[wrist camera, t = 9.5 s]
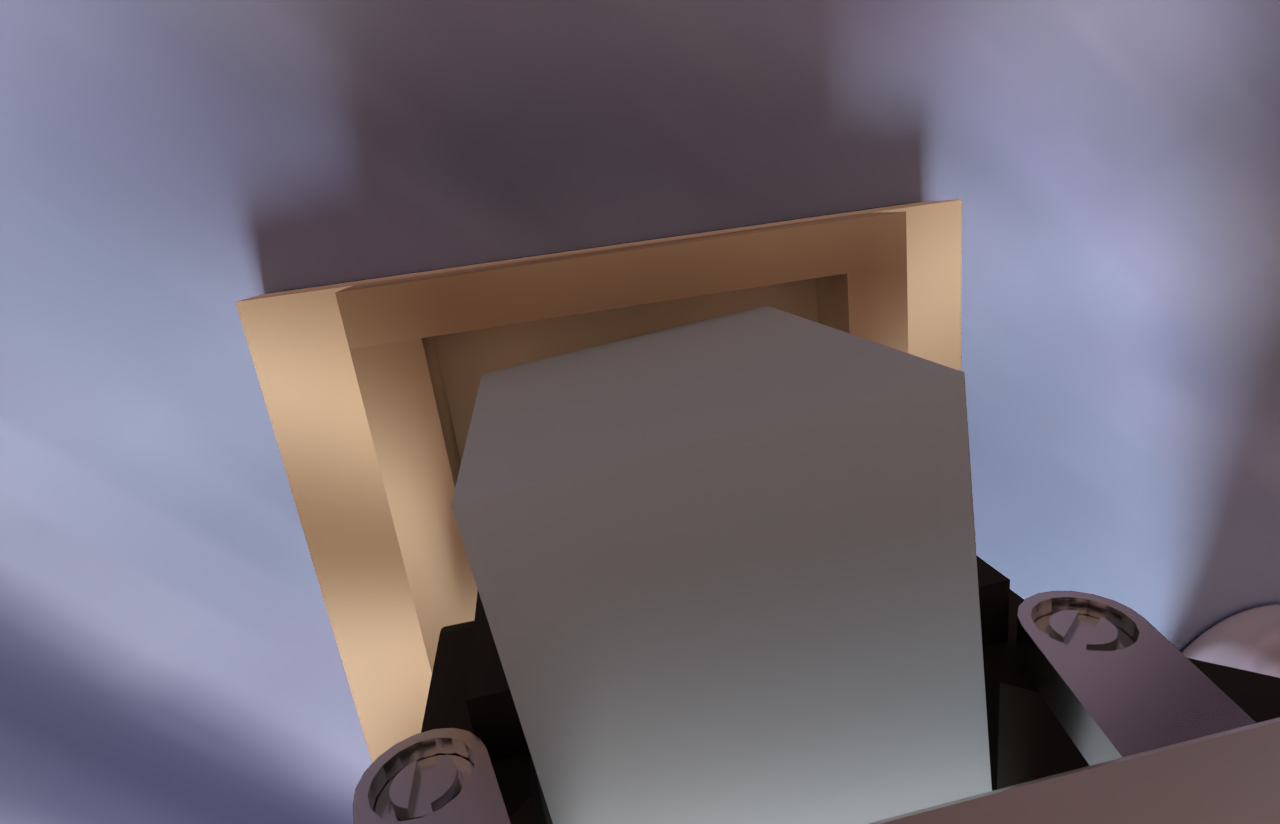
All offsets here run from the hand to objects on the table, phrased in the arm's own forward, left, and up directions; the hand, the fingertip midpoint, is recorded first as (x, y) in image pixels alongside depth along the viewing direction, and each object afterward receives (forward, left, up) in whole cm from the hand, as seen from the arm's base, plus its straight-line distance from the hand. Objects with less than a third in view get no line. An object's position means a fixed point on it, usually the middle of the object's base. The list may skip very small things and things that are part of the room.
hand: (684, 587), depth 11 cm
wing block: (0, 0, 0) cm, 0 cm away
